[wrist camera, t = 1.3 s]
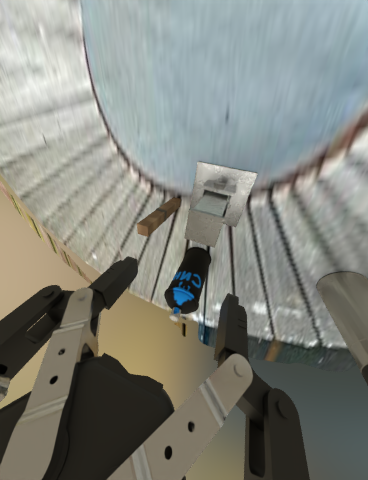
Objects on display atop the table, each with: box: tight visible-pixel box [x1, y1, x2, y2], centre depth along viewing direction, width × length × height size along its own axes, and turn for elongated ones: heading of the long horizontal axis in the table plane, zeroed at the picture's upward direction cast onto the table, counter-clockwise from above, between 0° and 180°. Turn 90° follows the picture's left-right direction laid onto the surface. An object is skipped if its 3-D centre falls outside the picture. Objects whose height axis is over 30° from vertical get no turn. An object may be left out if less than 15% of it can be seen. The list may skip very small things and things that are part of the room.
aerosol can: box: [164, 247, 211, 321], centre depth 37 cm, size 8×8×20 cm
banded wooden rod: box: [137, 197, 181, 237], centre depth 31 cm, size 2×2×16 cm
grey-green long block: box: [185, 190, 229, 247], centre depth 25 cm, size 5×5×16 cm
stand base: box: [190, 162, 257, 227], centre depth 30 cm, size 12×12×7 cm
